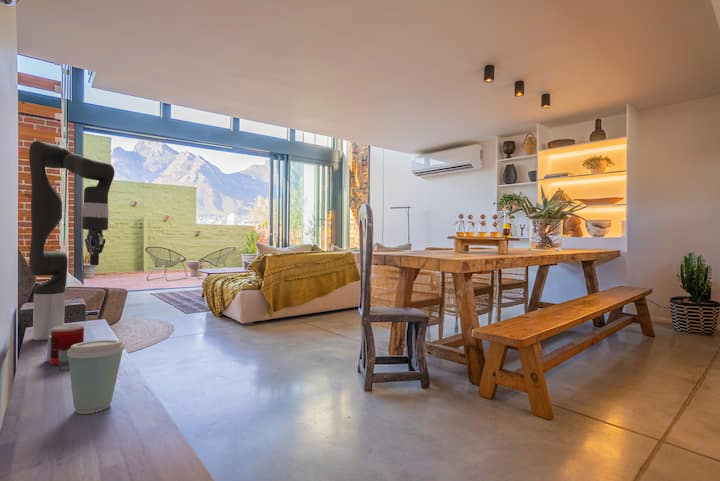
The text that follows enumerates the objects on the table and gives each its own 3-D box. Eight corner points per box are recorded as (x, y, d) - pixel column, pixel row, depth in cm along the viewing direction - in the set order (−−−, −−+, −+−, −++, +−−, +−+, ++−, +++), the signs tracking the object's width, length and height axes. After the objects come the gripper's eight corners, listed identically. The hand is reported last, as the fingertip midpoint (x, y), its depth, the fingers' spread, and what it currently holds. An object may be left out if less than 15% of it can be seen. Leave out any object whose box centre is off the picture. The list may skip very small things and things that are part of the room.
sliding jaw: (41, 356, 121) (42, 333, 121) (68, 351, 126) (69, 329, 126) (50, 362, 115) (51, 337, 115) (77, 357, 121) (78, 333, 121)
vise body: (55, 368, 110) (55, 349, 110) (88, 361, 117) (89, 343, 117) (61, 372, 106) (61, 353, 106) (95, 365, 113) (96, 347, 113)
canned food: (89, 359, 119) (90, 324, 119) (67, 367, 111) (68, 330, 111) (66, 358, 119) (67, 323, 120) (43, 366, 112) (44, 329, 112)
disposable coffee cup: (65, 405, 85) (67, 339, 85) (121, 394, 92) (122, 333, 92) (64, 423, 77) (66, 350, 77) (125, 410, 83) (127, 342, 83)
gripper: (76, 216, 134) (75, 264, 134) (89, 215, 126) (88, 266, 126) (100, 217, 140) (99, 264, 140) (114, 216, 132) (113, 265, 132)
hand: (94, 265), depth 133 cm, fingers closed
